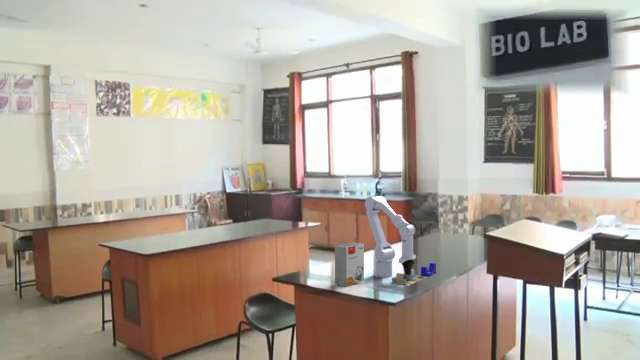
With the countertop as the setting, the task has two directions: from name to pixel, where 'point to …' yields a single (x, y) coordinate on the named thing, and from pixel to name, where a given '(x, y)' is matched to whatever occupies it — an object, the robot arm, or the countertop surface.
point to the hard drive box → (349, 264)
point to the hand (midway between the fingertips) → (407, 274)
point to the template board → (404, 279)
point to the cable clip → (428, 270)
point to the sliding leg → (411, 275)
